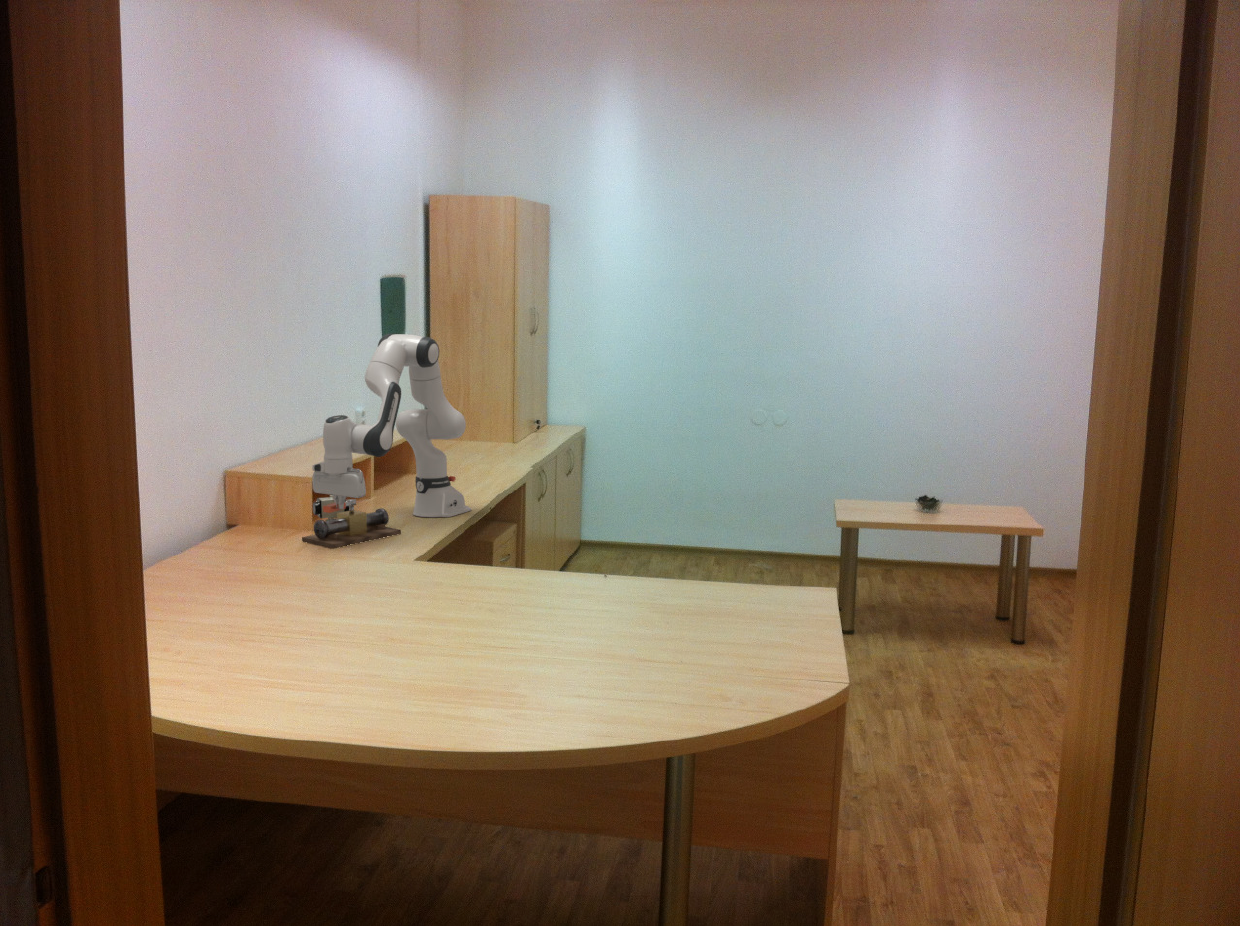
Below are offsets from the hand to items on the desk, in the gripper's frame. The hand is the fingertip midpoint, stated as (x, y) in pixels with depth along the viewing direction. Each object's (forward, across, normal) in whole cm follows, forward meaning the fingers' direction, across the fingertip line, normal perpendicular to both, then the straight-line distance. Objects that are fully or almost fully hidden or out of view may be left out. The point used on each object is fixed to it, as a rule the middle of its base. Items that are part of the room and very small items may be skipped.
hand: (339, 509), depth 333 cm
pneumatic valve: (+12, +19, -15) cm, 27 cm away
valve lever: (+1, +3, -3) cm, 4 cm away
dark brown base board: (+12, +4, -9) cm, 15 cm away
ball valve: (+10, +4, -9) cm, 14 cm away
